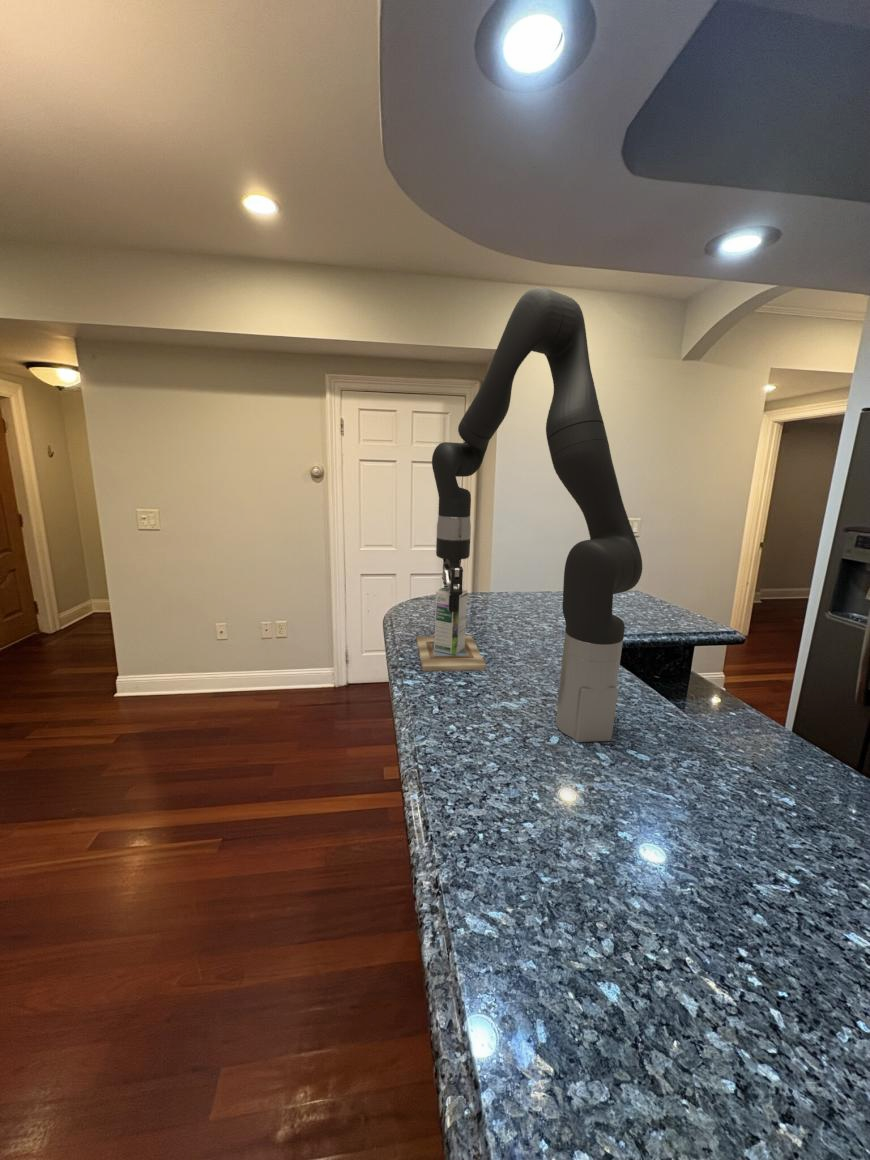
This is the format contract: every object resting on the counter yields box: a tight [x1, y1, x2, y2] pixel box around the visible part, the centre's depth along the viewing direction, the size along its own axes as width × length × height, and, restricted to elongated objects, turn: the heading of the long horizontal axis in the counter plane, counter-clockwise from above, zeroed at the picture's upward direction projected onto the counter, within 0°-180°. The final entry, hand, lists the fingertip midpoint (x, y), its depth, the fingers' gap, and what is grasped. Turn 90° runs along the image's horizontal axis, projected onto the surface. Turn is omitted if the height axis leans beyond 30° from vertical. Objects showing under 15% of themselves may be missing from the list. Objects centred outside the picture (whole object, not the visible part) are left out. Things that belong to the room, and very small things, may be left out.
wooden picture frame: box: [415, 635, 487, 672], centre depth 113 cm, size 18×14×1 cm
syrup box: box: [434, 586, 468, 655], centre depth 111 cm, size 6×6×14 cm
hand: (450, 605), depth 110 cm, fingers open, 8 cm apart
